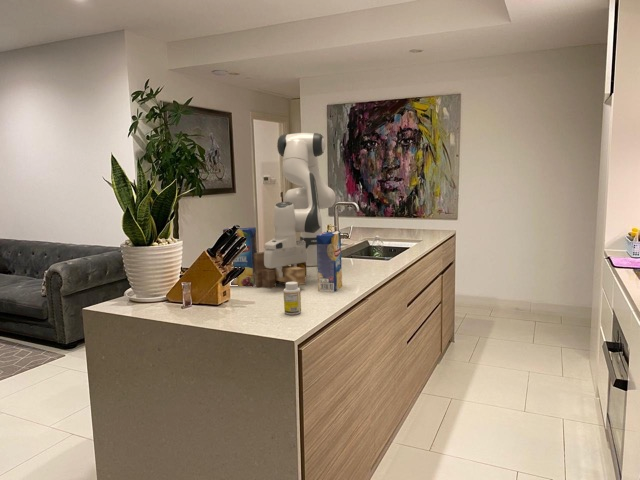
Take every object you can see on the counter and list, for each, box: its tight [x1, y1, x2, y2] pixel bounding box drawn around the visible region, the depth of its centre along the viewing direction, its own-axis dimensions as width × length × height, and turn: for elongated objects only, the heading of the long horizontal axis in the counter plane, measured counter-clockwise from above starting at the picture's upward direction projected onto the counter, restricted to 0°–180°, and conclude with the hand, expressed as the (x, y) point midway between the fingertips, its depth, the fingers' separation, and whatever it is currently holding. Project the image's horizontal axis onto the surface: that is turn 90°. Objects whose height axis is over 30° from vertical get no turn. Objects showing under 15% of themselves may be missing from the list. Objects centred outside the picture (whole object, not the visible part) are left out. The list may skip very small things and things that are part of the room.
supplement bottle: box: [283, 282, 302, 316], centre depth 163 cm, size 6×6×10 cm
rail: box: [272, 265, 306, 285], centre depth 200 cm, size 16×4×6 cm, turn 43°
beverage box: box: [316, 231, 343, 293], centre depth 196 cm, size 7×11×22 cm, turn 164°
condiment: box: [297, 262, 310, 278], centre depth 222 cm, size 7×8×12 cm
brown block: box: [254, 251, 286, 289], centre depth 206 cm, size 7×16×14 cm, turn 133°
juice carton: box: [222, 226, 258, 288], centre depth 208 cm, size 12×8×24 cm, turn 80°
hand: (287, 276), depth 201 cm, fingers closed on rail, 4 cm apart
